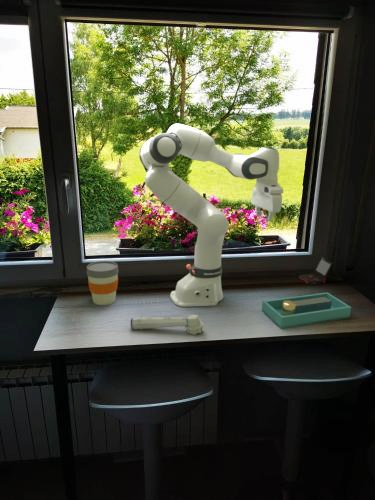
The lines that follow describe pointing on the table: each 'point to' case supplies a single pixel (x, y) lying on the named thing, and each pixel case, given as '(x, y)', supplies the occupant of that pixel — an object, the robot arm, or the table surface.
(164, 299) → the table surface
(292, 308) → the strut
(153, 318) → the white flashlight
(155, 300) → the table surface
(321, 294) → the bin
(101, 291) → the reusable coffee cup
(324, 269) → the handheld gaming console
